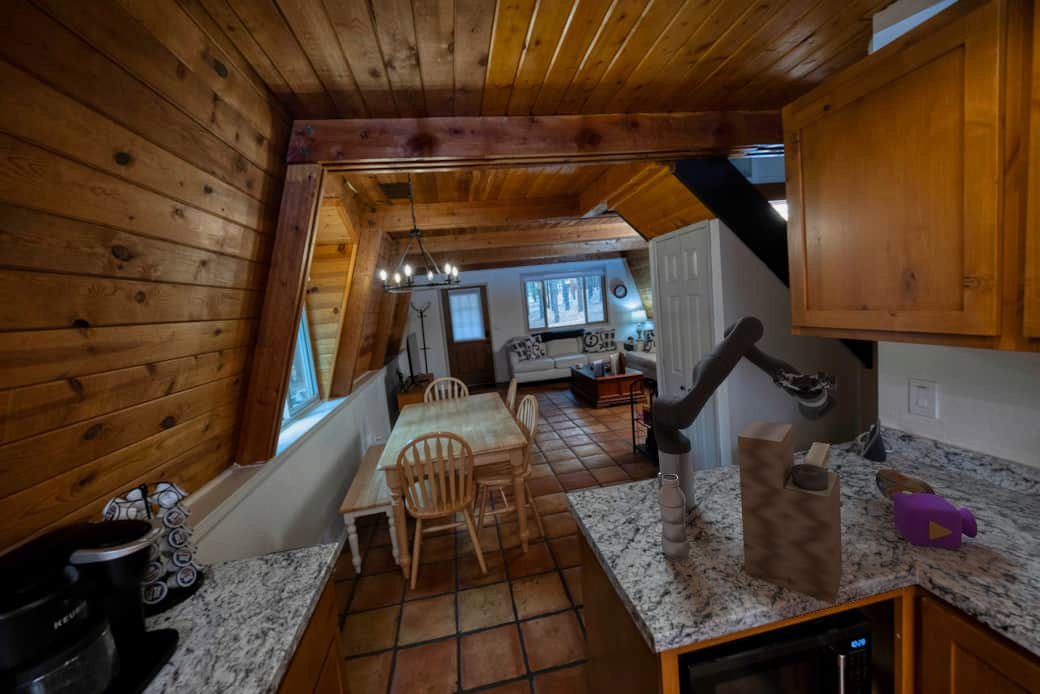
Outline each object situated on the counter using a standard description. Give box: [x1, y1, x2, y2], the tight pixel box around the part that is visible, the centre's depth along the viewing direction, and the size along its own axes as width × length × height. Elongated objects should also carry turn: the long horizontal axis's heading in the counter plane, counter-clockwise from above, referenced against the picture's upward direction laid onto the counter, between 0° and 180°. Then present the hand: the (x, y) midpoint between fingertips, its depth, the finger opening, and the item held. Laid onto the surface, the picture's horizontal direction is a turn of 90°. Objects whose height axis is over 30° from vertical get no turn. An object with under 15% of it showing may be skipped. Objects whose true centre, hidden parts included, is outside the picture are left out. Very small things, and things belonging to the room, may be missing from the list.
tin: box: [875, 468, 937, 502], centre depth 110 cm, size 15×3×8 cm, turn 1°
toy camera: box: [893, 491, 979, 550], centre depth 95 cm, size 11×14×10 cm
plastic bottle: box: [657, 474, 691, 561], centre depth 99 cm, size 6×7×20 cm
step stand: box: [737, 419, 843, 606], centre depth 88 cm, size 16×12×32 cm
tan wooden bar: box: [792, 441, 831, 491], centre depth 88 cm, size 6×20×3 cm, turn 137°
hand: (799, 373), depth 108 cm, fingers open, 8 cm apart
